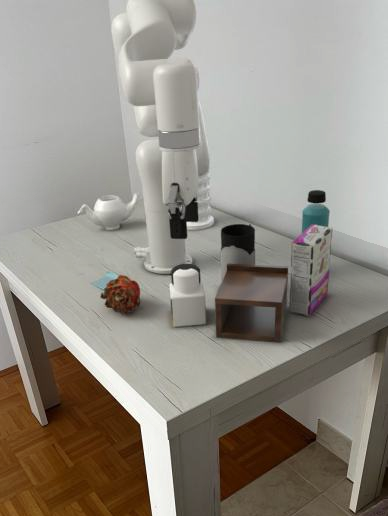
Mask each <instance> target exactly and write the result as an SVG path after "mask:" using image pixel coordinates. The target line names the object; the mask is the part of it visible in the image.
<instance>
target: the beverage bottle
mask: <svg viewBox="0 0 388 516" xmlns="http://www.w3.org/2000/svg"><path fill="white" fill-rule="evenodd" d="M307 193H308V194H307V199H306V201H307V203H310V204H308V205H306V206H305V207H304V208H303V209H302V210H301V211H302V212H301V213H302V216H301V218H302V219H301V233H300V235H301V234H302V233H303V232H304V231H305V230H307V229H308V228H309V227H310V226H311V225H321V226H327V227H329V223H330V212H331V211H330V209H329V208H328V207H327V206H326V205H325V204H323V203H326V202H327V201H326V200H327V198H326V197H327V196H326V191H324V190H320V189H313V190H310V191H308V192H307Z"/></svg>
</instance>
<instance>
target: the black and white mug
mask: <svg viewBox="0 0 388 516" xmlns="http://www.w3.org/2000/svg"><path fill="white" fill-rule="evenodd" d="M255 232H256V229H255V228H254V227H253V226H252V223H251V222H246V224H245V223H233V224H229V225H226V226H223V227H222V228H221V229H220V244H221V246H220V276H221V277H220V279H221V280H220V281H221V282H220V284H221V283H222V281H223V278H224V276H225V274H226V271H227V264H248V265H256V248H255V247H256V236H255V235H256V233H255Z"/></svg>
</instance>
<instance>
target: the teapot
mask: <svg viewBox="0 0 388 516" xmlns="http://www.w3.org/2000/svg"><path fill="white" fill-rule="evenodd" d="M140 196H141V192H134V193H133V197H132V200H131V201H130V202H129V203H127V204H125V202H124V201H123V200H122V199H121V197H119V196H118V195H115V194H107V195H102V196H99V197H98V198H97V199H96V202H95V204H94V206H93V210H92V209H91V208H90V206H88V204H82V205H81V207H80V208H79V210H78V211H77V214H81V213H83V211H85V214H86V216H87V218H88V219H89V220H90V221H91V222H92V223H93V224H95V225H97V226H99V227H103V228H104V229H105V230H107V231H115V230H118V229H120V228H121V223H122V222H125V221H127V220H128V219H129V218H130V217H131V216H132V214H133V212H134V211H135V209H136V206H137V205H138V202H139V199H140Z"/></svg>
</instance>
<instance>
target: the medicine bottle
mask: <svg viewBox="0 0 388 516" xmlns="http://www.w3.org/2000/svg"><path fill="white" fill-rule="evenodd" d="M170 276H171V277H170V278H171V282H170V283H169V284H168V287H169V299H170V309H171V320H172V326H173V328H178V327H190V326H202V325H206V324H207V308H206V292H205V289H204V284H203V281H202V280H201V268H200V267H199V266H198V265H197V264H194V263H192V264H180V265H177V266H175V267H174V268H173V269H172V270H171V274H170Z"/></svg>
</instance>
